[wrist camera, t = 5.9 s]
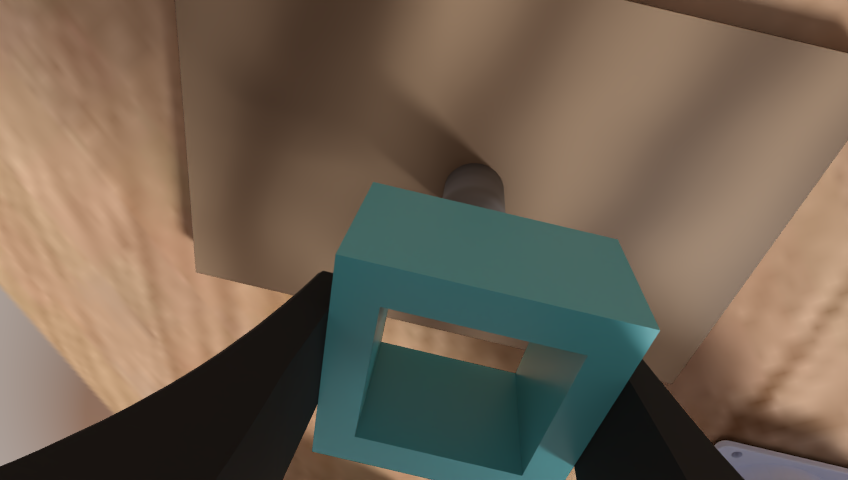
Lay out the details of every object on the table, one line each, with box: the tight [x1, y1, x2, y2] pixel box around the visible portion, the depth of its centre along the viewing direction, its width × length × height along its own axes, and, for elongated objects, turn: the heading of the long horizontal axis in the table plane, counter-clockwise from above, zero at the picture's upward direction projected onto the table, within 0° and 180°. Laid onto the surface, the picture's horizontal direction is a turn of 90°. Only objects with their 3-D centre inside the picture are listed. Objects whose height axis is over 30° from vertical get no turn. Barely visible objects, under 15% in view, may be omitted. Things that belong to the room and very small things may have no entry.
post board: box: [175, 0, 848, 384], centre depth 16 cm, size 22×14×6 cm, turn 79°
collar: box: [312, 182, 660, 480], centre depth 11 cm, size 6×6×3 cm
